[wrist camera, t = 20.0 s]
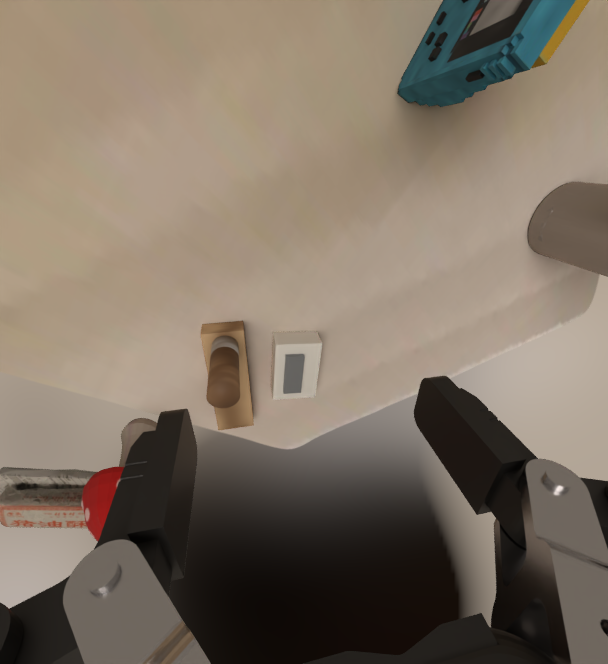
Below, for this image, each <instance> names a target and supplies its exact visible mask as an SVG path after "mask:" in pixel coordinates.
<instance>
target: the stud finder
mask: <svg viewBox="0 0 608 664" xmlns="http://www.w3.org/2000/svg"><path fill="white" fill-rule="evenodd" d="M321 350H322V341H321V339H320V337H319V335H318V333H317V331H296V332H273V342H272V365H271V391H272V397H273V400H281V399H296V398H310V397H315V394H316V387H317V380H318V372H319V365H320V357H321Z"/></svg>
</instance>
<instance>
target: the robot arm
mask: <svg viewBox="0 0 608 664" xmlns="http://www.w3.org/2000/svg"><path fill="white" fill-rule="evenodd" d="M528 239H529V244H530V246H531V248H532V249H533V250H534V251H535V252H537V253H539V254H542V255H545V256H548V257H550V258H553V259H556V260H559V261H562V262H565V263H568V264H571V265H574V266H577V267H580V268H583V269H586V270H589V271H592V272H595V273H598V274H601V275H604V276H607V277H608V185H607V184H595V183H584V182H571V183H567V184H565V185H562V186H560V187H558V188H557V189H556V190H554V191H553V192H551V193H550V194H549V195H548V196H547V197H546V198H545V199H544V200H543V202H542V203H541V204H540V205H539V207H538V208H537V210H536V212H535V213H534V215H533V217H532V220H531V222H530V226H529V231H528ZM414 417H415V421H416V424H417V426H418V428H419V429H420V431H421V432H422V434H423V435H424V437H425V438H426V440H427V441H428V443H429V444H430V446H431V447H432V449H433V450H434V452H435V453H436V455H437V456H438V458H439V459H440V461H441V462H442V464H443V465H444V466H445V468H446V470H447V471H448V473H449V474H450V476H451V477H452V478H453V480H454V481H455V483H456V484H457V486H458V487H459V489H460V490H461V492H462V493H463V495H464V496H465V498H466V499H467V501H468V502H469V504H470V505H471V507H472V508H473V510H474V511H475V513H476V514H477V515H478V514H483V513H487V512H492V513H493V514H494V516H495V517H496V520H495V522H494V540H495V541H494V543H495V565H496V598H495V602H494V606H493V611H492V616H491V628H490V627H489V626H488V625H487V623H486V621H485V619H484V617H483V615H482V613H480V614H477V615H473V616H469V617H466V618H463V619H459V620H455V621H452V622H449V623H445V624H441V625H440V626H438V627H437V628H436V629H434V630H433V631H432V632H431V633H429V634H428V635H427V636H426V637H424V638H423V639H422V640H421V641H420V642H418V643H417V644H416V645H414V646H413V647H412V648H411V649H409V650H408V651H407V652H406V653H404V654H402V655H387V654H377V653H366V652H355V651H346V652H343V653H339V654H335V655H332V656H328V657H325V658H321V659H318V660H314V661H311V662H307V663H304V664H608V481H602V480H593V479H586V478H579V477H578V476H577V475H576V474H574V473H573V472H572V471H571V470H569V469H567V468H566V467H564V466H562V465H560V464H558V463H556V462H553V461H550V460H546V459H538V458H537V457H536V456H535V455H534V454H533V453H532V452H531V451H530V450H529V449H528V448H527V447H526V446H525V445H524V444H523V443H522V442H521V441H520V440H519V439H518V438H517V437H516V436H515V435H514V434H513V433H512V432H511V431H510V430H509V429H508V428H507V427H506V426H505V425H504V424H503V423H502V422H501V421H498V420H497V417H496V416H495V415H494V414H493V413H492V412H491V411H488V408H487V407H486V406H485V405H484V404H483V403H482V402H481V401H480V400H479V399H478V398H477V397H475V396H474V395H472V394H471V393H469V392H467V391H466V390H464V389H462V388H461V389H459V388H458V387H457V386H456V385H455V384H454V383H453V382H452V381H451V380H450V379H449V378H448V377H447V376H439V377H431V378H424V379H423V380H422V382H421V385H420V389H419V393H418V397H417V401H416V405H415V409H414ZM196 466H197V445H196V440H195V435H194V432H193V428H192V423H191V419H190V415H189V412H188V410H187V409H180V410H172V411H165V412H161V413H160V416H159V419H158V423H157V426H156V430H154V431H147V432H143V433H142V434H141V435H140V436H139V438H138V439H137V440H136V441H135V443H134V444H133V445H132V446H131V448H130V451H129V454H128V457H127V459H126V462H125V467H124V468H123V471H122V474H121V477H120V482H119V483H118V486H117V489H116V492H115V494H114V497H113V500H112V503H111V506H110V509H109V512H108V515H107V518H106V521H105V524H104V527H103V529H102V532H101V535H100V538H99V540H98V543H97V545H96V547H95V548H94V550H93V551H91V552H90V553H89V554H88V555H87V556H85V557H84V558H83V560H82V561H81V562H80V563H79V564H78V565H77V567H76V568H75V569H74V571H73V572H72V574H71V575H70V576H69V577H67V578H66V579H65V580H63V581H62V582H60V583H58V584H56V585H55V586H53V587H51V588H49V589H47V590H45V591H43V592H41V593H39V594H37V595H36V596H33V597H31V598H30V599H27V600H25V601H24V602H22V603H20V604H18V605H16V606H14V607H12V608H10V609H8V608H7V607H6V606H5V605H3V604H2V603H0V664H210V662H209V660H208V659H207V657H206V656H205V654H204V652H203V650H202V649H201V647H200V646H199V644H198V642H197V641H196V639H195V638H194V636H193V634H192V633H191V631H190V630H189V629H188V627H187V626H186V625H185V624H184V622H183V621H182V619H181V617H180V616H179V614H178V612H177V611H176V609H175V607H174V606H173V604H172V602H171V601H170V599H169V591H170V584H171V580H176V579H180V578H183V577H184V571H185V562H186V553H187V545H188V536H189V526H190V518H191V509H192V501H193V491H194V483H195V474H196Z"/></svg>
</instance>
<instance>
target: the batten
mask: <svg viewBox="0 0 608 664" xmlns="http://www.w3.org/2000/svg"><path fill="white" fill-rule="evenodd" d="M223 335H227V336H231V337H233V338H234V339H236V341H237V342H238V346H239V374H240V399H239V401H238V402H237V403H236V404H235V405H233V406H231V407H229V408H217V407H214V409H215V414H216V419H217V424H218V430H224V429H231V428H238V427H245V426H252V425H254V423H253V411H252V401H251V392H250V382H249V373H248V363H247V354H246V345H245V335H244V326H243V321H236V322H224V323H213V324H202V329H201V339H202V345H203V350H204V355H205V361H206V366H207V371H208V376H209V366H210V357H211V347H212V342H213V341H214V340H215V339H216V338H217V337H219V336H223Z"/></svg>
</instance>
